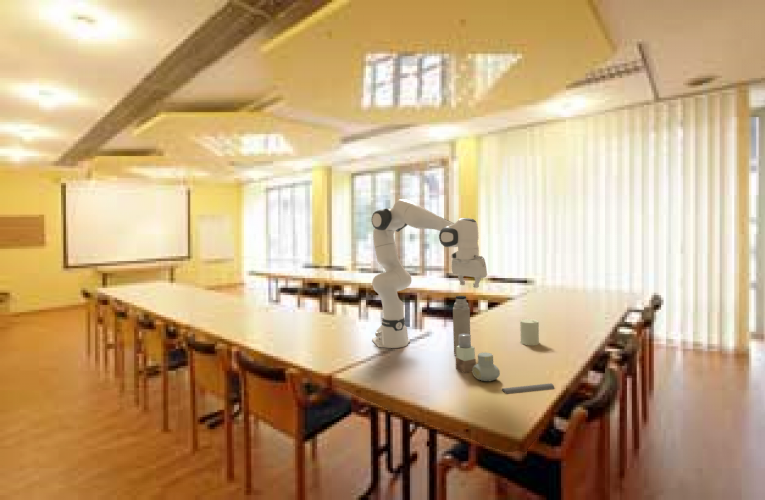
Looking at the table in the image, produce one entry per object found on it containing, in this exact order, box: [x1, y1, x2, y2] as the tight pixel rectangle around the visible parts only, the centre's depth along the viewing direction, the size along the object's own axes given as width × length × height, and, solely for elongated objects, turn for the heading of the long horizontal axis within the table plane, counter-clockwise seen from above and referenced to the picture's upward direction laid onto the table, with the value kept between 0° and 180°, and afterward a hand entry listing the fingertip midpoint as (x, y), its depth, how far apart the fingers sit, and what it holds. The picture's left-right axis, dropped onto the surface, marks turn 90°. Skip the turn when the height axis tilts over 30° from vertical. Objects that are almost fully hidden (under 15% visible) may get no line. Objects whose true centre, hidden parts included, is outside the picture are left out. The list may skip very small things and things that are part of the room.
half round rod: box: [501, 383, 555, 395], centre depth 153 cm, size 4×20×2 cm, turn 99°
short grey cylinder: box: [459, 333, 472, 348], centre depth 176 cm, size 5×5×5 cm
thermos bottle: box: [452, 295, 471, 356], centre depth 197 cm, size 8×8×28 cm
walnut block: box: [455, 357, 477, 374], centre depth 176 cm, size 6×6×5 cm
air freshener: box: [471, 352, 501, 382], centre depth 164 cm, size 11×8×10 cm
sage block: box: [455, 345, 476, 361], centre depth 176 cm, size 6×6×5 cm
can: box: [519, 318, 540, 346], centre depth 212 cm, size 9×9×12 cm
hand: (469, 286), depth 181 cm, fingers open, 8 cm apart
